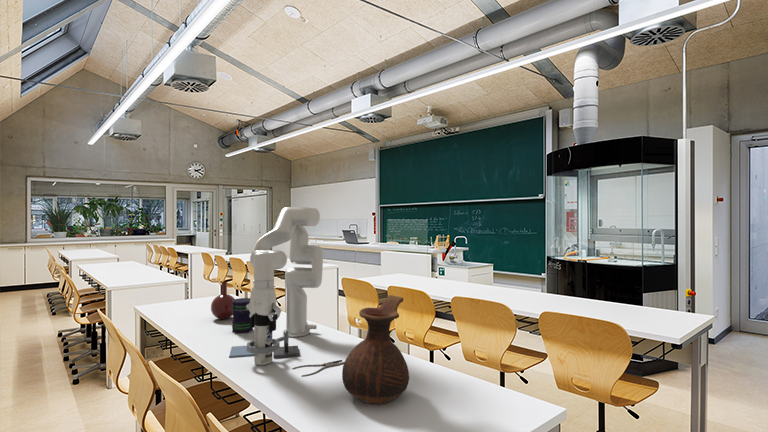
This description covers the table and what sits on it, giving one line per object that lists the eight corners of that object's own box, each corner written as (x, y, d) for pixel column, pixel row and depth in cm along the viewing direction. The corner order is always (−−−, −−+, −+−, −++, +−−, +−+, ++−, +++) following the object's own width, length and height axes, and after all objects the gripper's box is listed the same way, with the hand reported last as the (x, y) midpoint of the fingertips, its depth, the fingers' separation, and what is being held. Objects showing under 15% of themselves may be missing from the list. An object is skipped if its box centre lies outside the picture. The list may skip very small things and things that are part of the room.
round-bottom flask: (231, 322, 217) (231, 284, 217) (206, 321, 217) (206, 283, 217) (240, 315, 230) (240, 280, 230) (216, 315, 230) (217, 279, 230)
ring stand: (297, 348, 176) (297, 327, 176) (301, 364, 157) (301, 341, 157) (248, 352, 171) (248, 330, 171) (245, 369, 152) (246, 345, 152)
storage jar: (249, 333, 197) (249, 302, 196) (228, 333, 197) (228, 302, 197) (256, 328, 206) (256, 298, 206) (236, 327, 207) (236, 297, 207)
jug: (420, 406, 125) (421, 306, 125) (350, 415, 119) (351, 310, 118) (397, 378, 146) (398, 293, 145) (336, 384, 139) (337, 296, 139)
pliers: (288, 368, 152) (330, 355, 167) (288, 371, 152) (330, 357, 167) (303, 376, 145) (346, 361, 160) (303, 378, 145) (346, 363, 160)
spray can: (267, 366, 155) (267, 313, 155) (250, 365, 157) (251, 312, 156) (275, 360, 162) (275, 309, 162) (259, 359, 163) (259, 308, 163)
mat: (261, 345, 179) (261, 344, 179) (260, 355, 168) (260, 353, 168) (231, 348, 176) (231, 346, 176) (229, 357, 164) (229, 356, 164)
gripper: (240, 283, 160) (239, 328, 160) (273, 287, 151) (272, 334, 151) (255, 281, 166) (254, 324, 166) (287, 285, 158) (286, 330, 158)
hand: (263, 329), depth 159 cm, fingers open, 9 cm apart
